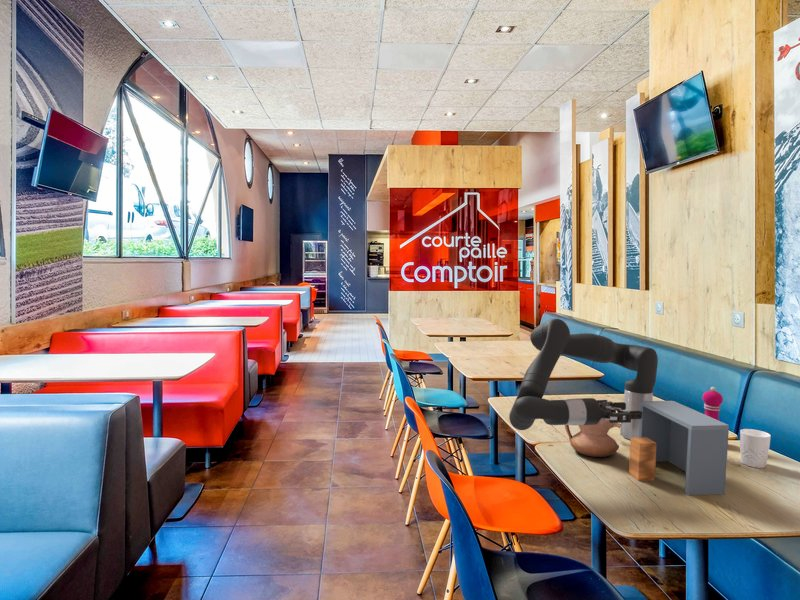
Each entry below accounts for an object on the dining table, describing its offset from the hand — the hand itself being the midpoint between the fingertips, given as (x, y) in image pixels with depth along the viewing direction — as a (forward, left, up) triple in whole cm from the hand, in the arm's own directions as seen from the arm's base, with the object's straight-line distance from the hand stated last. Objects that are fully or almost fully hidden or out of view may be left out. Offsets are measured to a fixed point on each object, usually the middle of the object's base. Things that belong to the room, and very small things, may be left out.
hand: (633, 410), depth 148 cm
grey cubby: (+5, +14, -20) cm, 25 cm away
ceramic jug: (-20, +5, -20) cm, 29 cm away
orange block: (+1, +4, -20) cm, 20 cm away
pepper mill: (-10, +51, -20) cm, 56 cm away
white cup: (+8, +45, -20) cm, 50 cm away
